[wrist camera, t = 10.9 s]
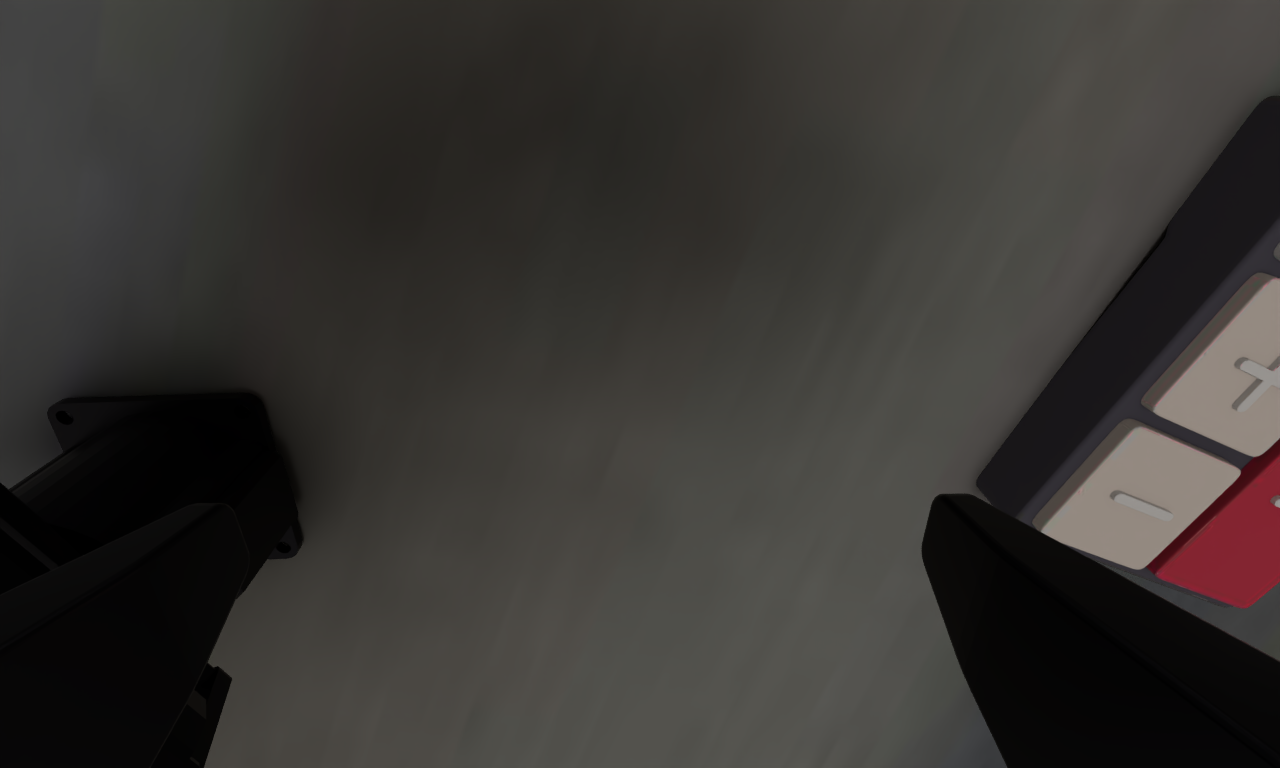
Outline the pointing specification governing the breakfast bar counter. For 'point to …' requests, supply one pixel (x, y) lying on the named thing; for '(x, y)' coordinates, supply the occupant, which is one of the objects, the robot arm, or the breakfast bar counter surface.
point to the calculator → (1173, 400)
